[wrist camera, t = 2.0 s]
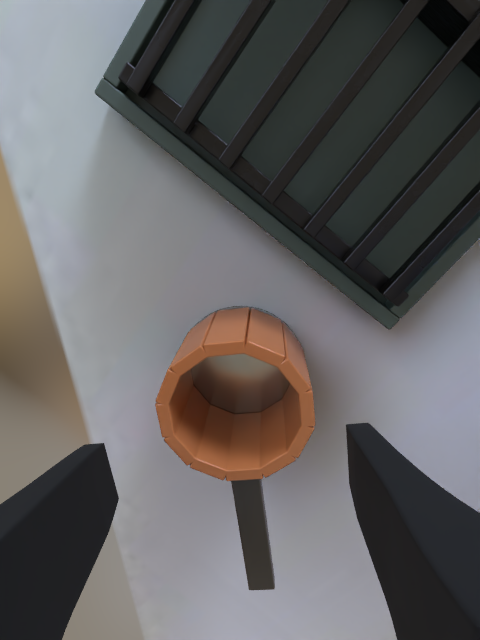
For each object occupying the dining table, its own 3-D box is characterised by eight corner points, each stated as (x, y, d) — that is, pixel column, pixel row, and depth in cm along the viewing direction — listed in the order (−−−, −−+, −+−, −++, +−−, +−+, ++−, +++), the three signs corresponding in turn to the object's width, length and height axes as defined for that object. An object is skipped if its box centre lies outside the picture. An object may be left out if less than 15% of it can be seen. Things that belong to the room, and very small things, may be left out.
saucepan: (171, 312, 18) (142, 350, 14) (298, 299, 17) (308, 333, 13) (210, 517, 21) (196, 597, 17) (316, 511, 21) (329, 592, 16)
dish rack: (575, 114, 14) (717, 79, 10) (379, 319, 17) (420, 365, 13) (274, -185, 13) (278, -399, 8) (108, 101, 15) (42, 63, 11)
